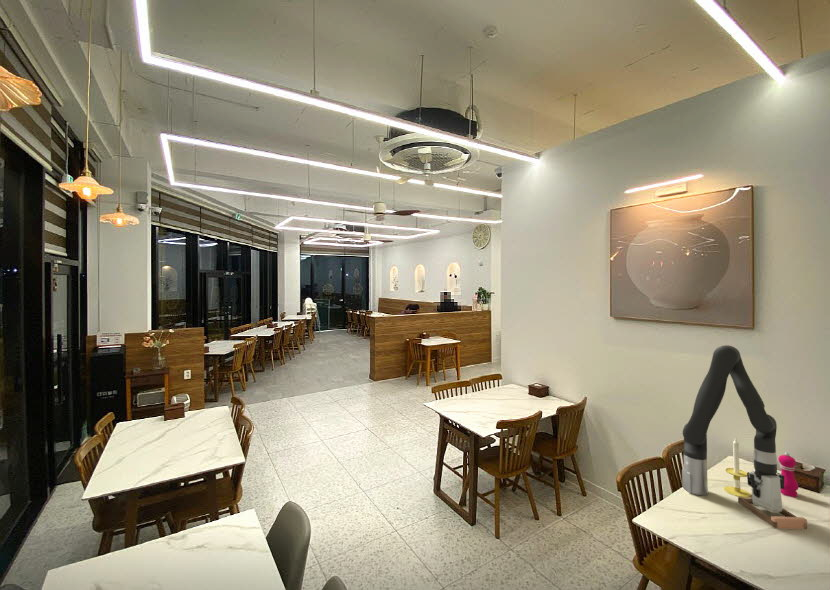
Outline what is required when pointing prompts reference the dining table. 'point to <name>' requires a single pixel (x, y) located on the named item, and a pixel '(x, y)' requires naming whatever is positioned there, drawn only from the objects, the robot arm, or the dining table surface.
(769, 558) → the dining table surface
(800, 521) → the stop block
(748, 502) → the guide channel
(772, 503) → the skincare box
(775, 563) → the dining table surface
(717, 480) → the dining table surface
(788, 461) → the pepper mill
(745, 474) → the candle
